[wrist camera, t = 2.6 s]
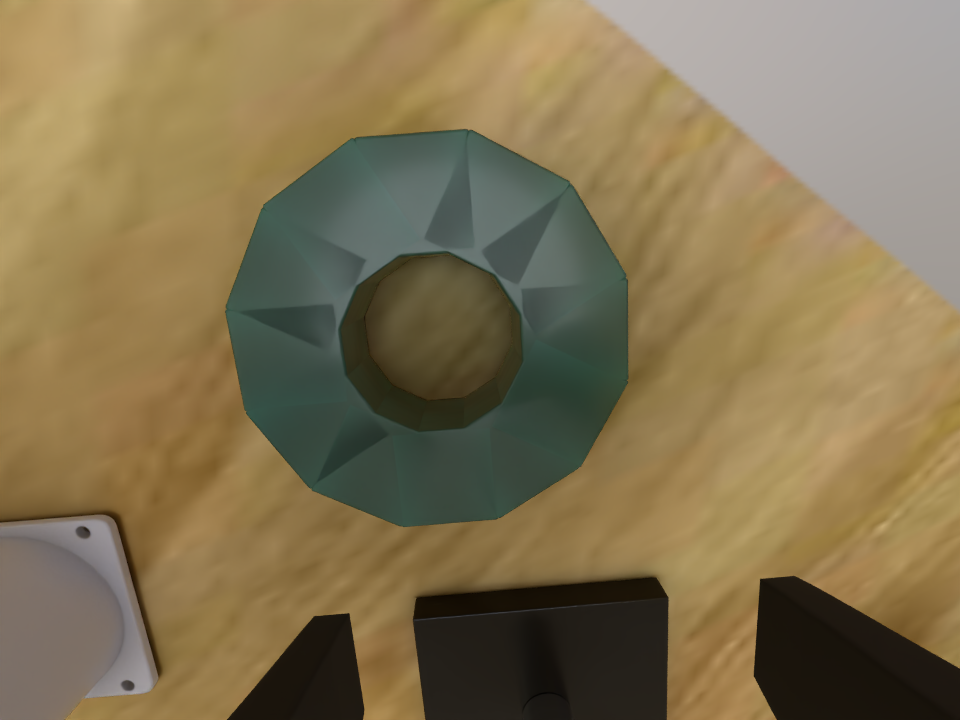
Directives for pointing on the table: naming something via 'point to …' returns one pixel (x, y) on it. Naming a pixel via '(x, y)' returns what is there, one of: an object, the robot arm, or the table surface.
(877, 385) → the table surface
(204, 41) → the table surface
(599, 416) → the ring
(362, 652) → the table surface
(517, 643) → the peg stand
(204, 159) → the table surface
